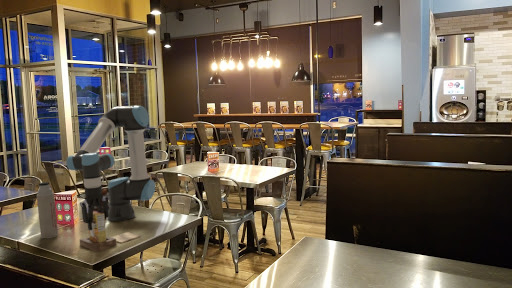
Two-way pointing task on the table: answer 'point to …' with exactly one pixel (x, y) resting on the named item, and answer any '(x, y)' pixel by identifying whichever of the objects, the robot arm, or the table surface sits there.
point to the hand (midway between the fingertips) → (97, 234)
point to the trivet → (125, 237)
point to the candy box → (98, 227)
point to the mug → (105, 194)
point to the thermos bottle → (47, 211)
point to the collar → (97, 246)
